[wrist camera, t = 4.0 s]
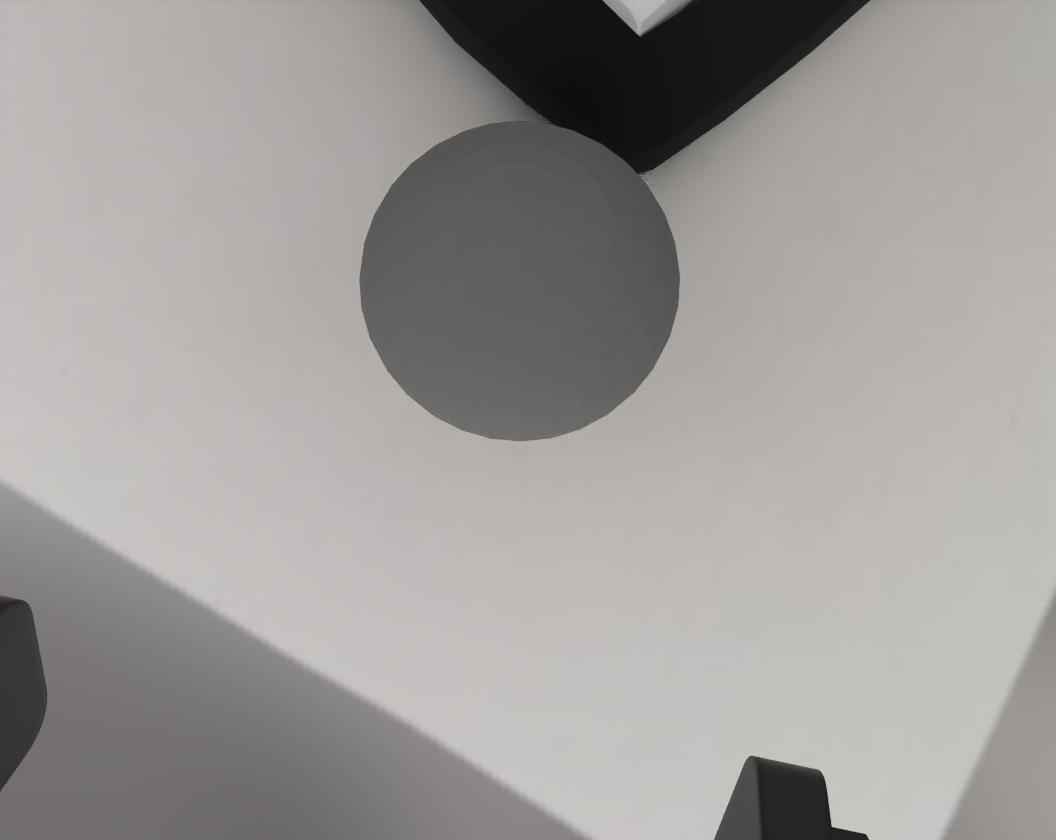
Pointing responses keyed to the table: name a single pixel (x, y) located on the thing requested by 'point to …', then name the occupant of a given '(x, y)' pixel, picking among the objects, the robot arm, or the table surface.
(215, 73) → the table surface
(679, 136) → the light switch
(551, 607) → the table surface
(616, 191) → the light bulb
